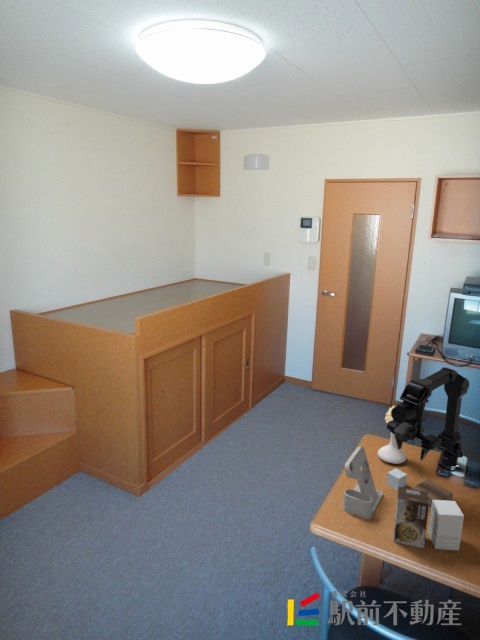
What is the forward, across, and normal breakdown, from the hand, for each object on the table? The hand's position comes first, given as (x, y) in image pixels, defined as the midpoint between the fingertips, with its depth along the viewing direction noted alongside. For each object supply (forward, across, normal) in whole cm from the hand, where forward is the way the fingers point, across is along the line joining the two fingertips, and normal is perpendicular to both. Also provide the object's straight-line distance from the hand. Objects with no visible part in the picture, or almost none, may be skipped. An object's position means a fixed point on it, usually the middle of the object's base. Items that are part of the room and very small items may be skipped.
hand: (410, 454), depth 164 cm
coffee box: (+15, +16, -22) cm, 31 cm away
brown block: (+15, +8, +3) cm, 17 cm away
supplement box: (+15, +23, -14) cm, 31 cm away
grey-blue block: (+15, -4, -1) cm, 15 cm away
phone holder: (+15, -4, -19) cm, 25 cm away
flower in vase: (+15, -16, +12) cm, 25 cm away
